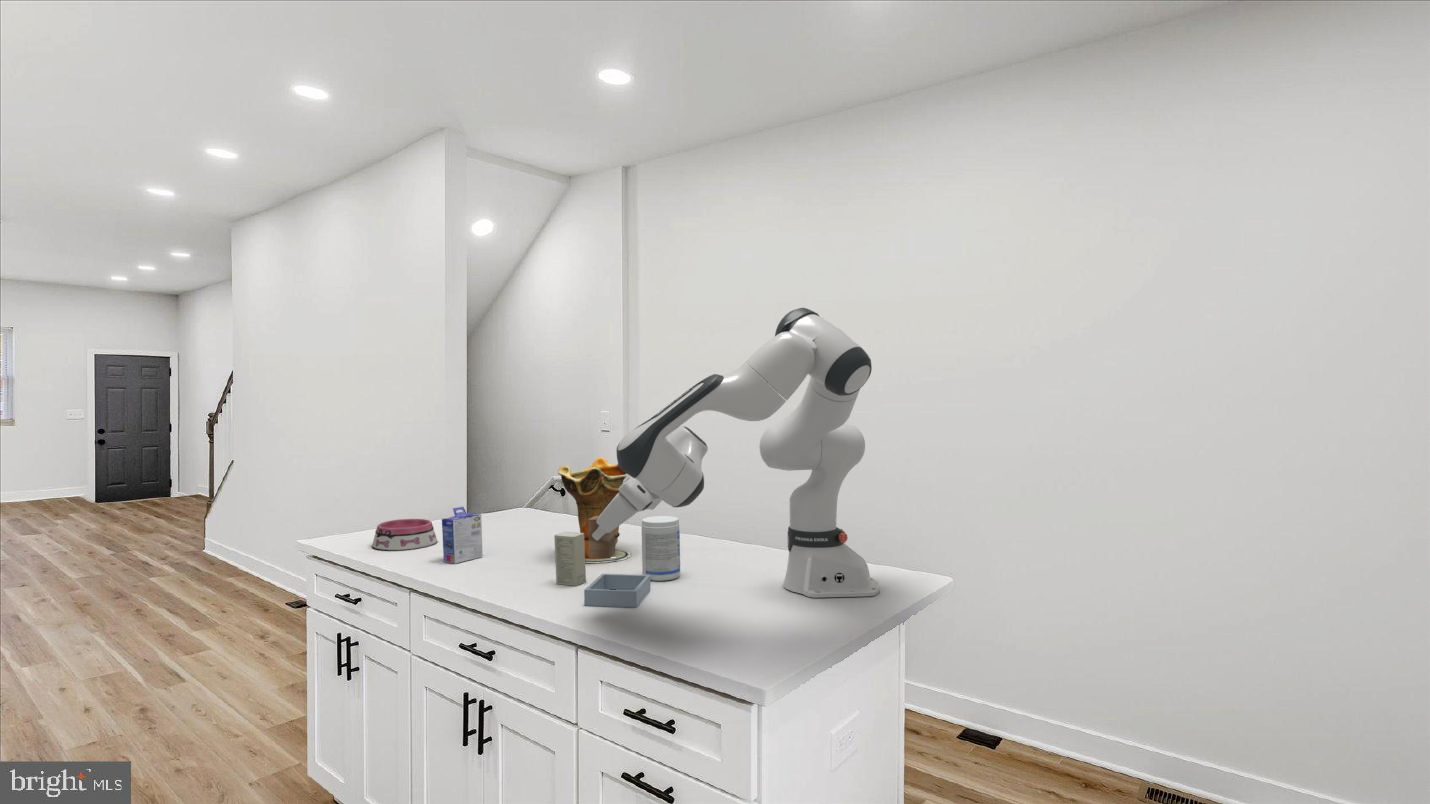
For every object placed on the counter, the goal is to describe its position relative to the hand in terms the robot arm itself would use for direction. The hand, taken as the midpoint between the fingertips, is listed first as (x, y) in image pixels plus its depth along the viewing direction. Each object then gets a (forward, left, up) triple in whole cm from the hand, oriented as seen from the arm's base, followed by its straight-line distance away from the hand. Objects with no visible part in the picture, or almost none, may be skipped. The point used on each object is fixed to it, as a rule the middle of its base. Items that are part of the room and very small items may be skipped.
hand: (599, 534), depth 155 cm
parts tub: (-1, -13, -17) cm, 21 cm away
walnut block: (-1, 0, -4) cm, 4 cm away
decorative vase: (+15, -51, -17) cm, 56 cm away
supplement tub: (-7, -31, -17) cm, 36 cm away
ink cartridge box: (+52, -43, -17) cm, 70 cm away
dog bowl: (+79, -60, -17) cm, 101 cm away
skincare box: (+14, -23, -17) cm, 32 cm away
